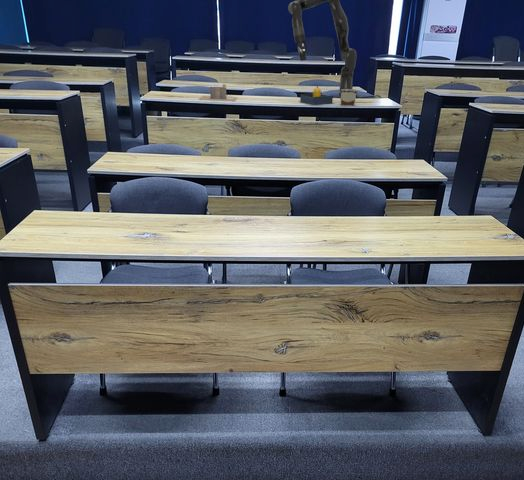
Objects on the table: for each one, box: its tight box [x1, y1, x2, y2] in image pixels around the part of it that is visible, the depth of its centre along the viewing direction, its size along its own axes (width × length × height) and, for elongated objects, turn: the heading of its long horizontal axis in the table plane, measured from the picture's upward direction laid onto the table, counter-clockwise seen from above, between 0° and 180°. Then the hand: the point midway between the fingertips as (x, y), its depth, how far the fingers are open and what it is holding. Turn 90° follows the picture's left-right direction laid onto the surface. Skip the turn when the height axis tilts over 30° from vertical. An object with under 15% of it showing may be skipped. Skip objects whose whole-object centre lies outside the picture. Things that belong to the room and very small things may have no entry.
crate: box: [299, 92, 334, 106], centre depth 378 cm, size 18×16×5 cm
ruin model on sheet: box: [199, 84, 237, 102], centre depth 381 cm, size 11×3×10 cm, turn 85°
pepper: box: [312, 85, 322, 98], centre depth 377 cm, size 6×6×11 cm
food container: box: [340, 88, 358, 107], centre depth 372 cm, size 12×6×10 cm, turn 84°
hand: (303, 60), depth 372 cm, fingers open, 8 cm apart
